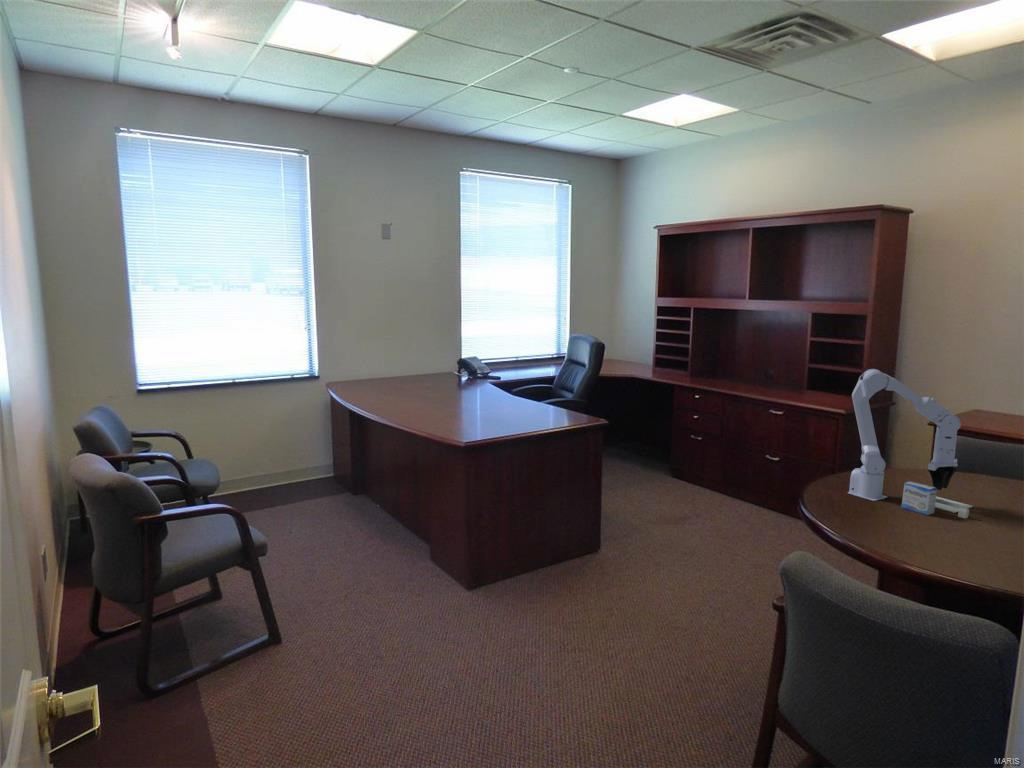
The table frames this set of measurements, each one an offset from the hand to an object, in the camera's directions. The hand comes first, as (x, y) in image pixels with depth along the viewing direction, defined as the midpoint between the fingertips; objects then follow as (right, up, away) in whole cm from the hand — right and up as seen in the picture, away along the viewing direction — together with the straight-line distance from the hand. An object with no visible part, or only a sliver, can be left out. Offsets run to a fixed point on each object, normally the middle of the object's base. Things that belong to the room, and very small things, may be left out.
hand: (940, 488), depth 200 cm
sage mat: (+1, -5, +1) cm, 5 cm away
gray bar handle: (-5, -6, -4) cm, 9 cm away
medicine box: (-11, -6, -6) cm, 14 cm away
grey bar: (-5, -4, -5) cm, 7 cm away
